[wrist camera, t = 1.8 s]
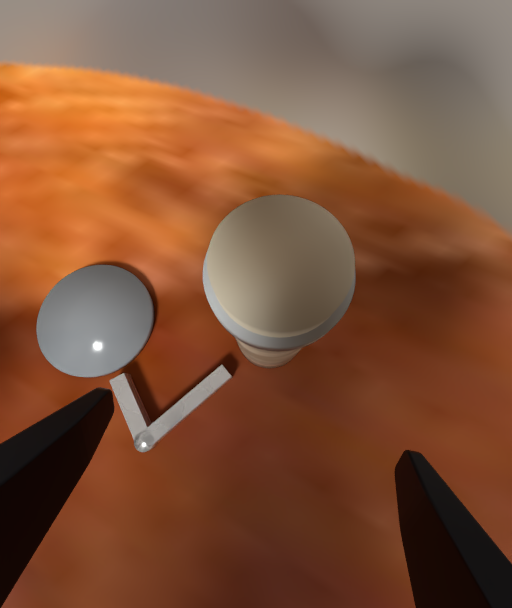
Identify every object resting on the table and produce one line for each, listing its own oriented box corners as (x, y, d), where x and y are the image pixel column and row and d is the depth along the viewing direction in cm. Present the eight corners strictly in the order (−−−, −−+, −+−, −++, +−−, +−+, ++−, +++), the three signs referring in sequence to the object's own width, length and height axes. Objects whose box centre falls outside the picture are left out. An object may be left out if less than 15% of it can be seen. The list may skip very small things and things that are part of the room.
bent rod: (144, 453, 20) (138, 455, 19) (115, 382, 21) (107, 381, 20) (242, 395, 21) (241, 396, 20) (208, 331, 22) (206, 328, 21)
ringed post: (255, 386, 21) (247, 375, 8) (220, 322, 22) (169, 230, 10) (319, 349, 22) (399, 288, 9) (281, 289, 23) (307, 162, 10)
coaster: (63, 399, 21) (59, 400, 20) (26, 299, 23) (21, 297, 22) (172, 340, 22) (170, 339, 21) (128, 249, 24) (125, 246, 23)
